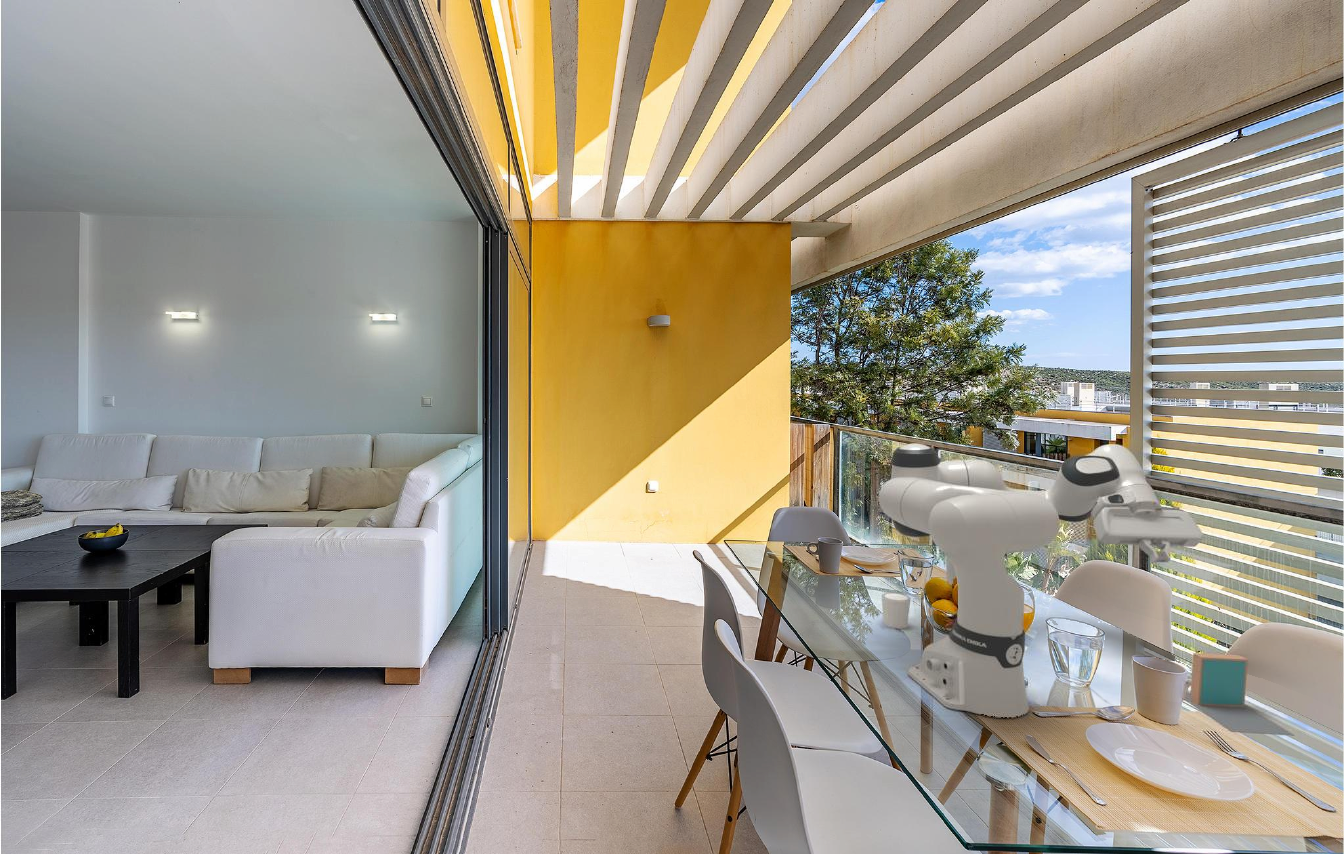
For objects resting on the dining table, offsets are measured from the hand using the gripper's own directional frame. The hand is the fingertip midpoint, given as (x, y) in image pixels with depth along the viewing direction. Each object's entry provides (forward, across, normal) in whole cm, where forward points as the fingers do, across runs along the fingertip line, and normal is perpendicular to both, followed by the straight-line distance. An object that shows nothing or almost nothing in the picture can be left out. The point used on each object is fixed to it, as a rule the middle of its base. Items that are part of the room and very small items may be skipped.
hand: (1161, 560), depth 138 cm
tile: (+28, 0, -3) cm, 29 cm away
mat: (+31, 0, -1) cm, 31 cm away
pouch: (-6, +28, -38) cm, 47 cm away
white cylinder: (+3, +50, -29) cm, 58 cm away
